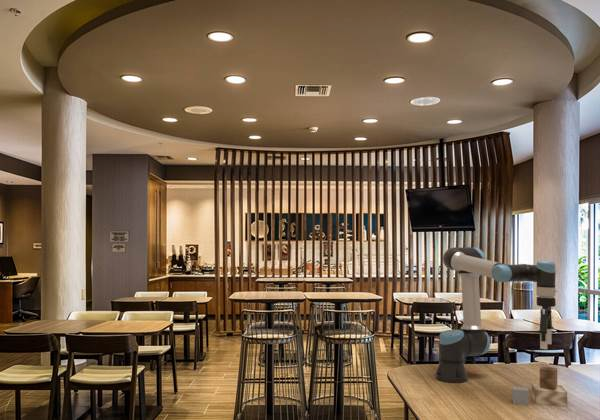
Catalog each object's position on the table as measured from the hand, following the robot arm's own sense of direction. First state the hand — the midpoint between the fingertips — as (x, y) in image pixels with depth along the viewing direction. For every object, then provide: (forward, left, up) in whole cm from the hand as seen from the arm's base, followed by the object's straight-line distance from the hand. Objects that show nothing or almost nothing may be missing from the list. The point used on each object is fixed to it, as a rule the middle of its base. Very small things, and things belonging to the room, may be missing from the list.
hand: (545, 346), depth 245 cm
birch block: (+1, -1, -23) cm, 23 cm away
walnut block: (+1, -1, -17) cm, 17 cm away
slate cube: (-9, -10, -23) cm, 27 cm away
